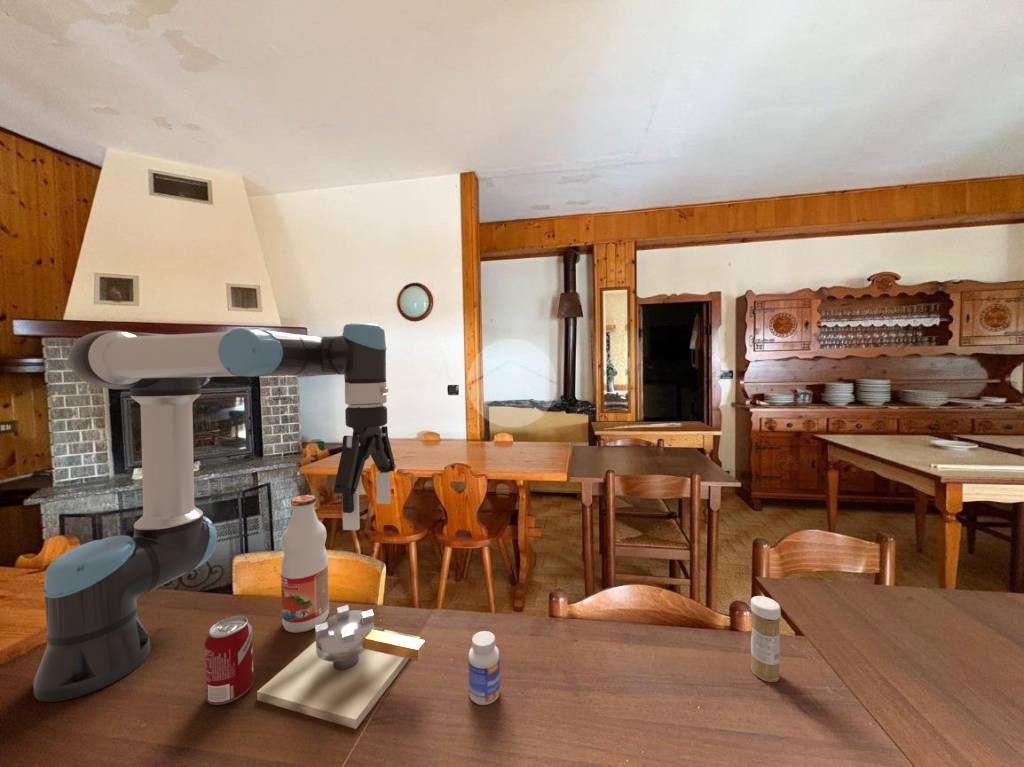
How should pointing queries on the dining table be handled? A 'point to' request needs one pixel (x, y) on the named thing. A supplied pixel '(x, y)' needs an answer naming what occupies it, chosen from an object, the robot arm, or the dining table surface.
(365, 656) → the board
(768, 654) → the sprinkles bottle
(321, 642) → the frying pan on burner
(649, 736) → the dining table surface
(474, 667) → the pill bottle
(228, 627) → the soda can
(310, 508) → the fruit juice
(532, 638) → the dining table surface
